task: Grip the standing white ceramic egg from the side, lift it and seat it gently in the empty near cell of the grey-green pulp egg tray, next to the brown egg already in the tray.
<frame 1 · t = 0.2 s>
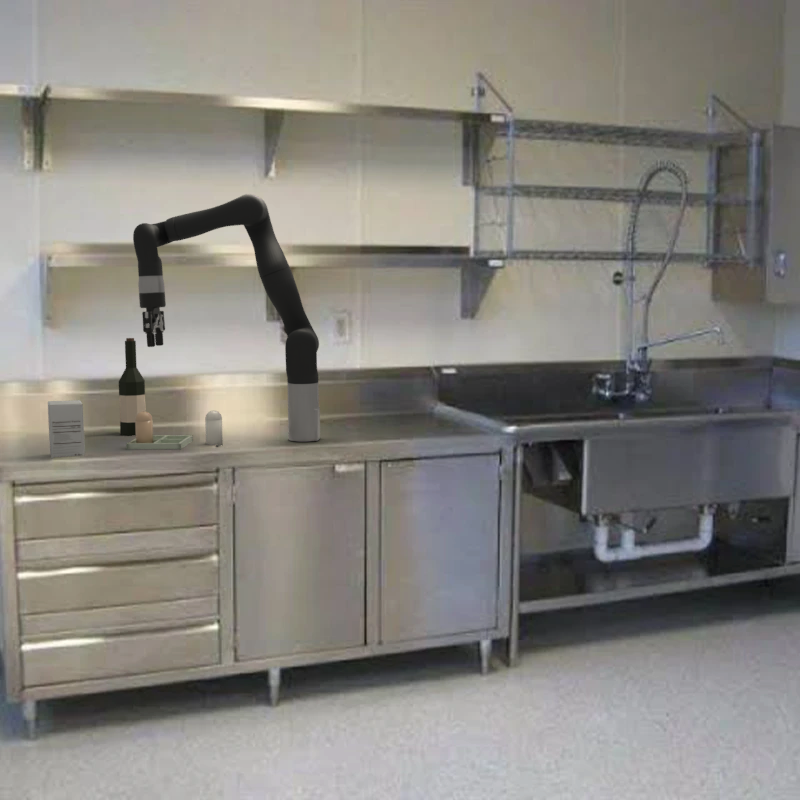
hand: (155, 346, 311), 28 cm above the countertop, tool pointing down, fingers open, 8 cm apart
wine bottle: (133, 434, 326), on the countertop
brown egg: (144, 446, 297), point 1 cm above the countertop, touching egg tray
white egg: (214, 445, 303), on the countertop
supplement box: (67, 456, 286), on the countertop
egg tray: (160, 446, 301), on the countertop
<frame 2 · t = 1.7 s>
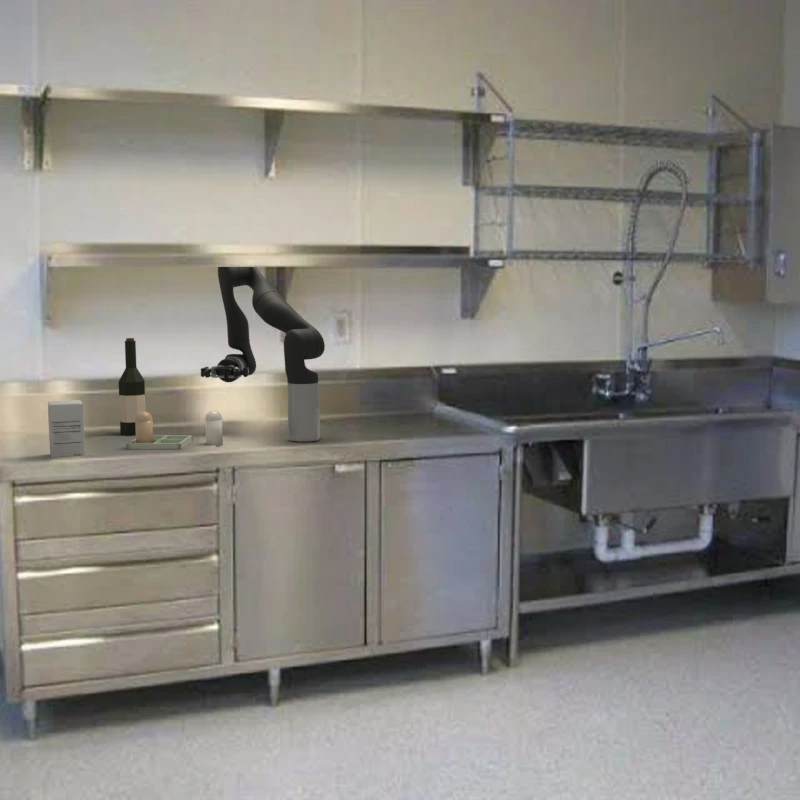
hand: (220, 374, 313), 20 cm above the countertop, tool horizontal, fingers open, 8 cm apart
nothing on the countertop moved.
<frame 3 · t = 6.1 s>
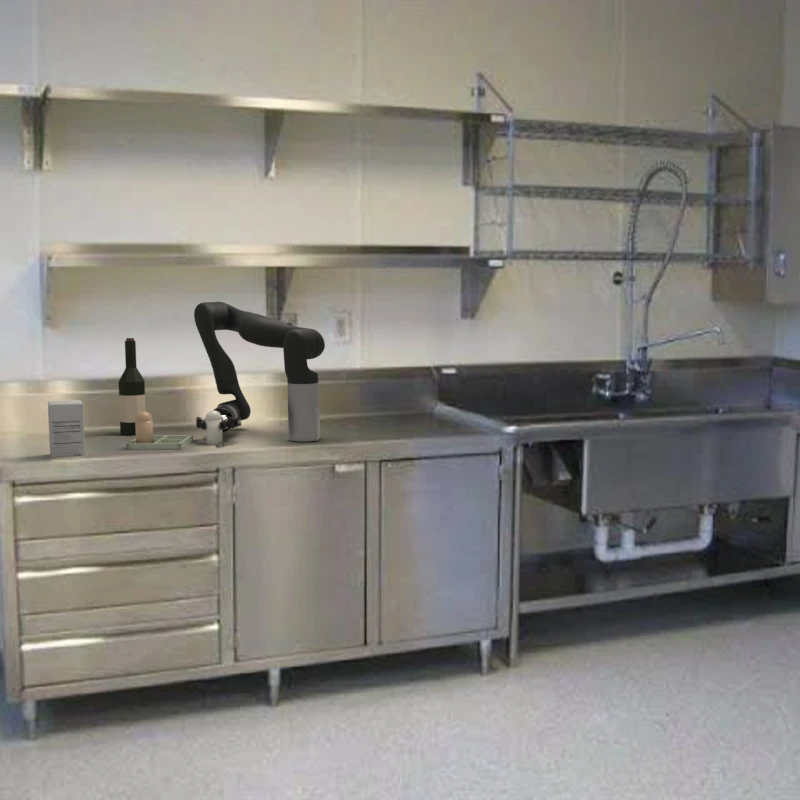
hand: (212, 425, 300), 6 cm above the countertop, tool horizontal, fingers closed on white egg, 4 cm apart
white egg: (214, 445, 303), on the countertop, touching gripper
everything else where it was.
when the fingers open (8 cm above the countertop, at t = 10.8 s): white egg drops 1 cm, resting on egg tray.
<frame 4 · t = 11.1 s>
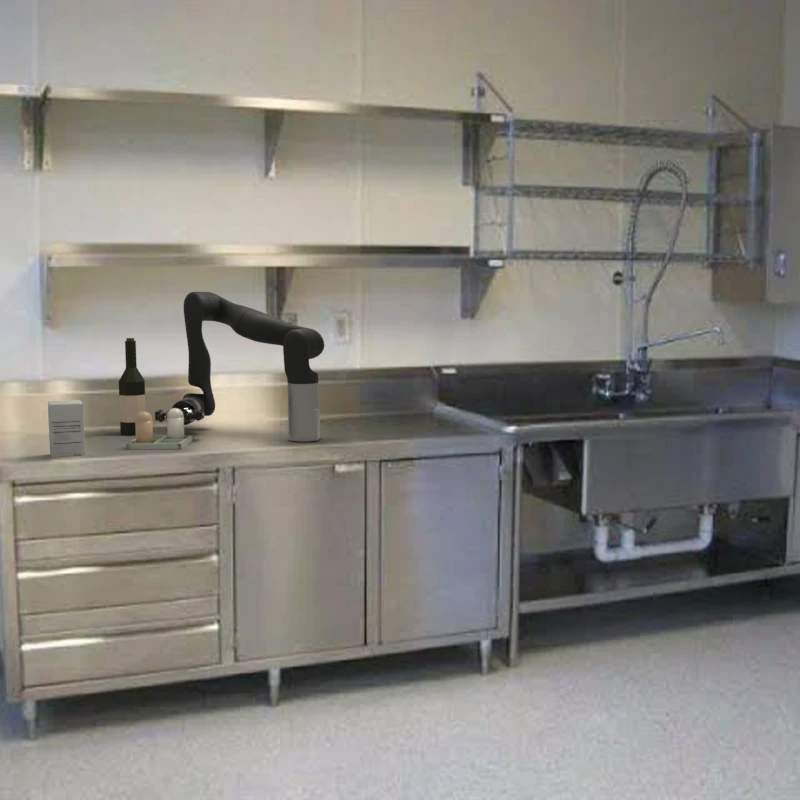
hand: (173, 418, 301), 8 cm above the countertop, tool horizontal, fingers open, 7 cm apart
white egg: (176, 442, 304), point 1 cm above the countertop, touching egg tray
everything else where it was.
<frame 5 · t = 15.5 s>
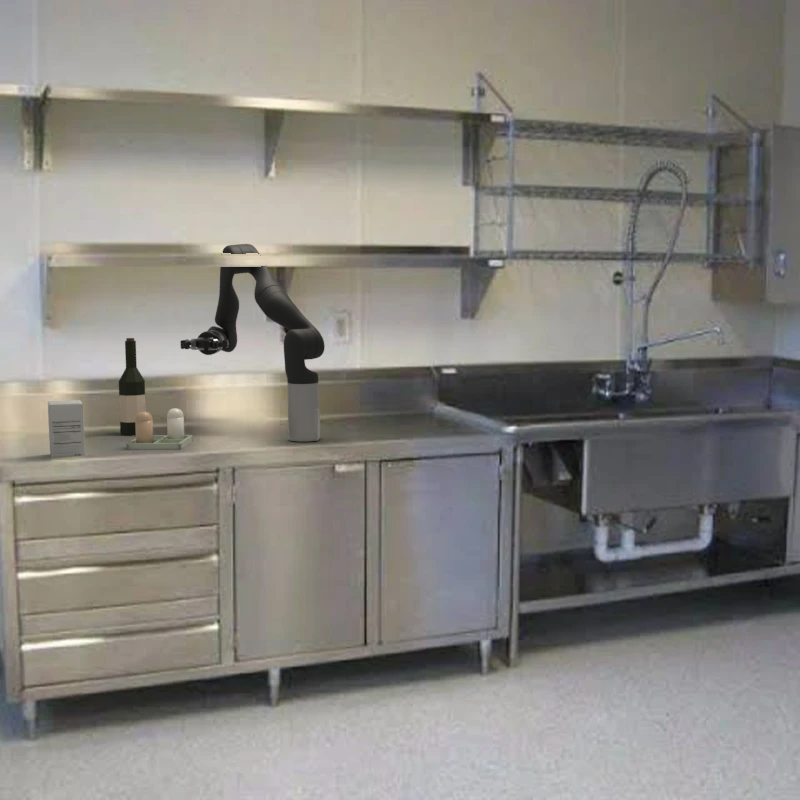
hand: (199, 345, 316), 28 cm above the countertop, tool horizontal, fingers open, 8 cm apart
nothing on the countertop moved.
at the end: white egg 0.1 cm from the target spot on the egg tray, point 0.6 cm above the egg tray's base; white egg tilted 0°; the gripper is holding nothing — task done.
